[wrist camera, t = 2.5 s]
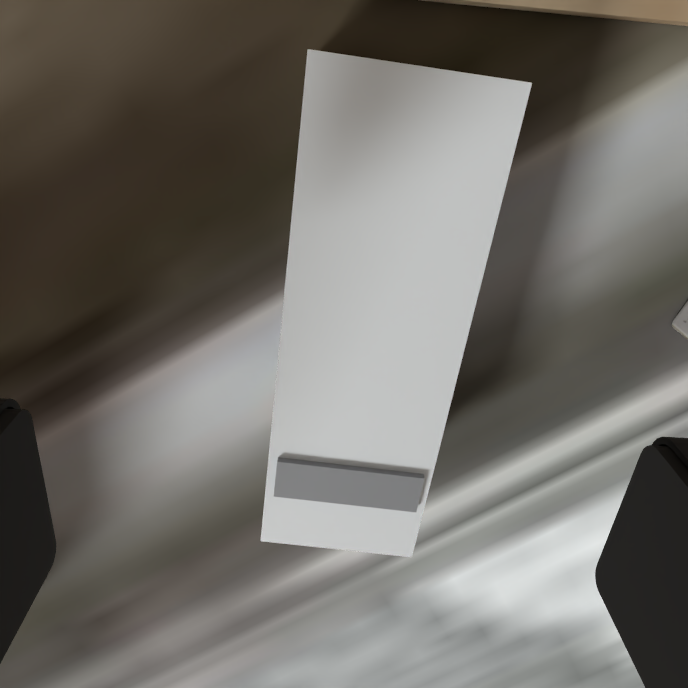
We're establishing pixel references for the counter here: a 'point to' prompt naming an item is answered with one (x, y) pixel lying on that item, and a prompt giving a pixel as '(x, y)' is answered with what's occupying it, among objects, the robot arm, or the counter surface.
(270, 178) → the counter surface
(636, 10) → the cradle
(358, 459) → the white block
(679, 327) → the coffee box
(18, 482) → the robot arm
